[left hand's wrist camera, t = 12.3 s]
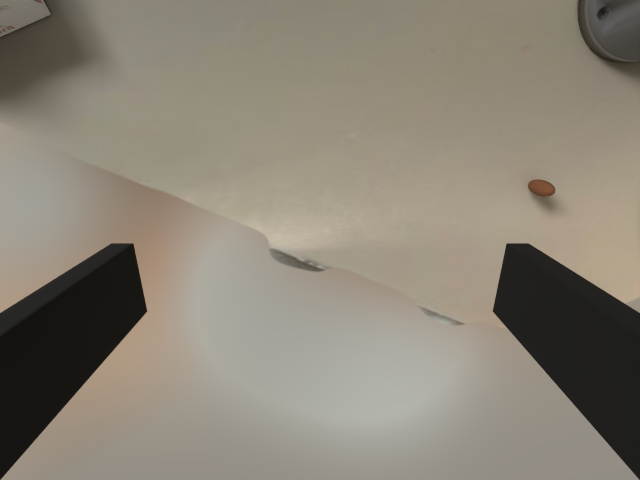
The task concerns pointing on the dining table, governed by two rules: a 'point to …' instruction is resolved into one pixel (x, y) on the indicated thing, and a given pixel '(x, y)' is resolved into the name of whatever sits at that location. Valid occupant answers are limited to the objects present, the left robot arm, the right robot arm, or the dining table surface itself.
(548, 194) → the brown ellipsoid
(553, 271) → the left robot arm
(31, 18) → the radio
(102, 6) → the dining table surface
